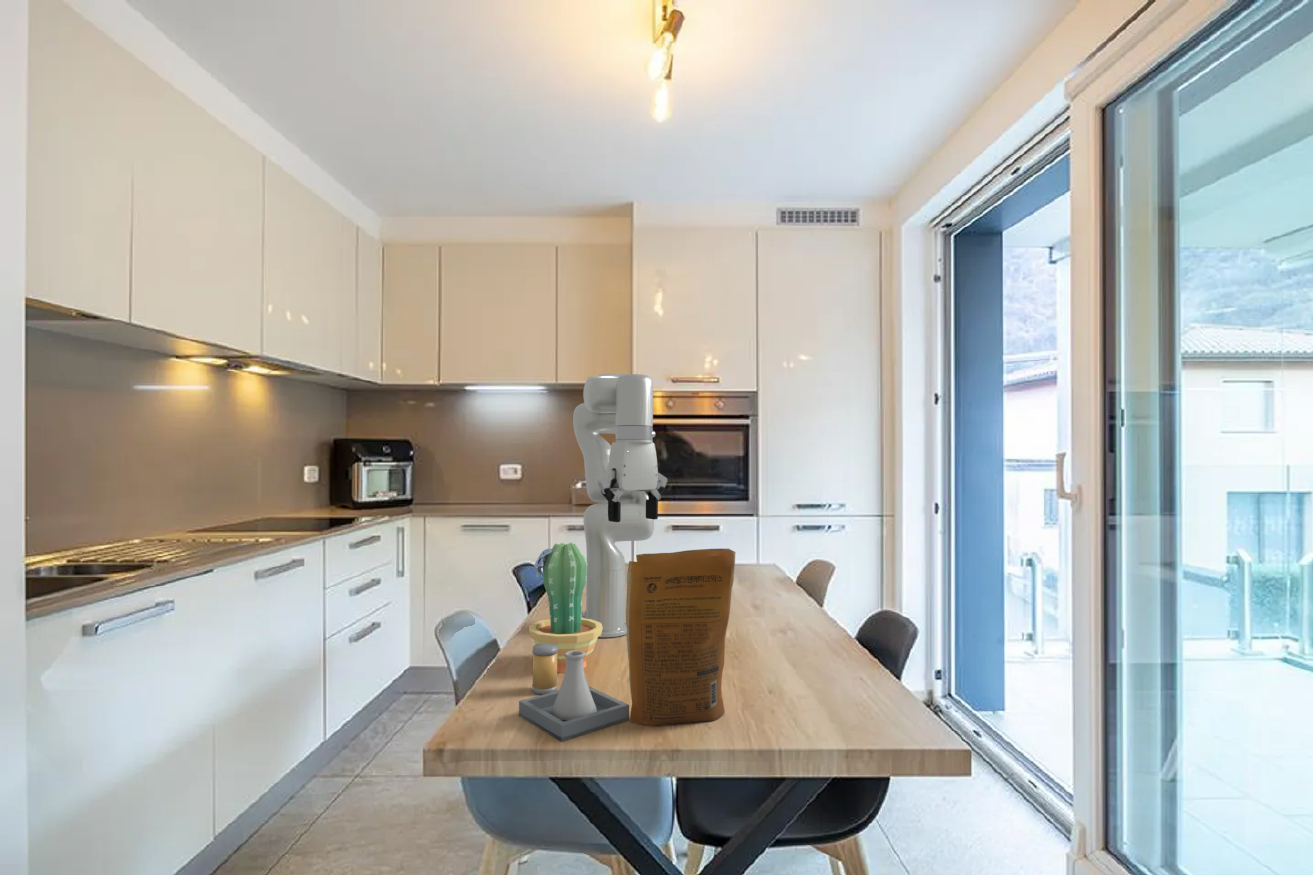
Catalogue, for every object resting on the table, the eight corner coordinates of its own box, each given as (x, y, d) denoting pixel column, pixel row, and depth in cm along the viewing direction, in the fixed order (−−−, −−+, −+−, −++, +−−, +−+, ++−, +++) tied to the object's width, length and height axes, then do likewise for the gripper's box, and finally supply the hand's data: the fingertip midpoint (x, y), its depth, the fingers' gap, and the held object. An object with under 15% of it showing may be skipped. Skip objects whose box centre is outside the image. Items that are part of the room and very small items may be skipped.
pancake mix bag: (742, 723, 106) (742, 550, 107) (626, 733, 102) (628, 553, 103) (728, 707, 113) (728, 544, 114) (618, 717, 108) (620, 547, 109)
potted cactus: (563, 649, 146) (565, 537, 147) (618, 662, 137) (619, 542, 138) (511, 667, 133) (513, 544, 134) (567, 682, 125) (568, 550, 125)
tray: (518, 715, 109) (519, 700, 109) (583, 697, 117) (583, 683, 117) (561, 741, 99) (561, 725, 99) (629, 719, 107) (629, 704, 107)
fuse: (527, 689, 121) (527, 646, 121) (548, 684, 124) (549, 641, 124) (540, 696, 117) (540, 651, 118) (562, 690, 120) (562, 647, 121)
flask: (572, 702, 113) (573, 644, 114) (604, 712, 109) (605, 651, 109) (542, 715, 107) (543, 654, 108) (575, 726, 103) (576, 662, 103)
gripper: (654, 437, 141) (653, 516, 141) (588, 434, 130) (587, 521, 130) (677, 436, 136) (677, 519, 135) (611, 434, 124) (610, 524, 124)
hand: (633, 520), depth 132 cm, fingers open, 9 cm apart
